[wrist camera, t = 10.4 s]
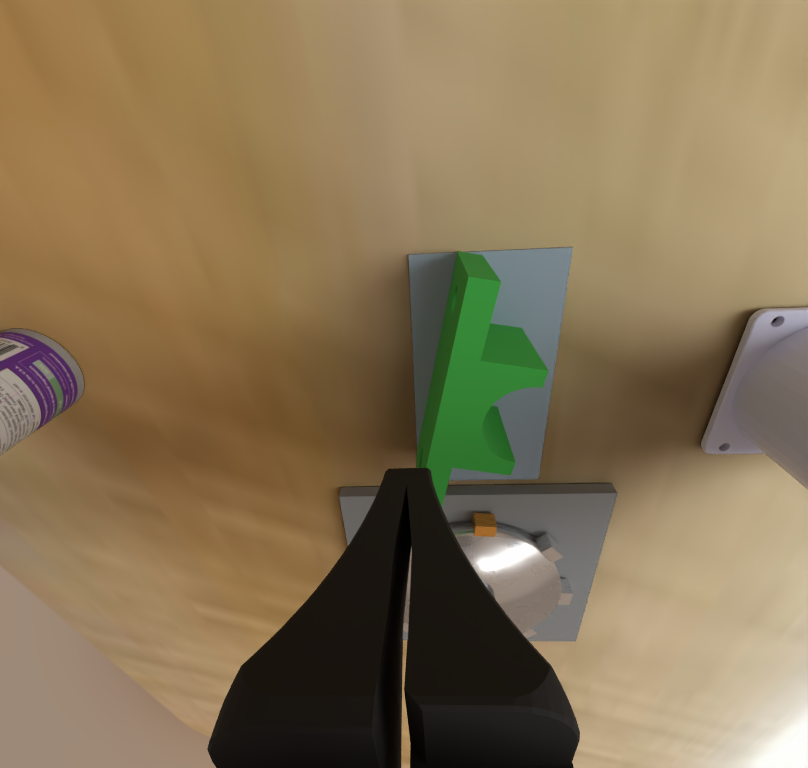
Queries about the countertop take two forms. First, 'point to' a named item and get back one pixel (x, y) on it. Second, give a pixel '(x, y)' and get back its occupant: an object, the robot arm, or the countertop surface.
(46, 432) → the countertop surface
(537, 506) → the mount plate
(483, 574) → the sprocket
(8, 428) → the container
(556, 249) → the mat
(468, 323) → the pipe clamp
